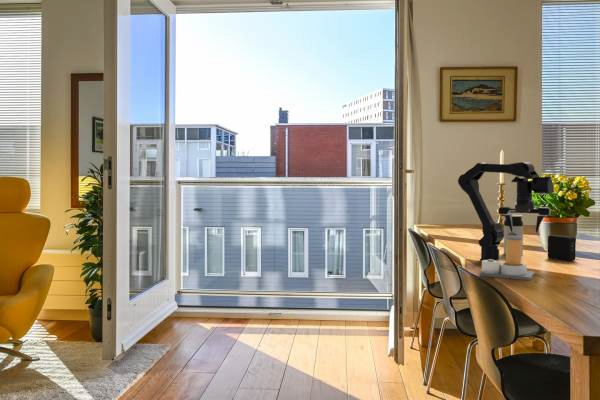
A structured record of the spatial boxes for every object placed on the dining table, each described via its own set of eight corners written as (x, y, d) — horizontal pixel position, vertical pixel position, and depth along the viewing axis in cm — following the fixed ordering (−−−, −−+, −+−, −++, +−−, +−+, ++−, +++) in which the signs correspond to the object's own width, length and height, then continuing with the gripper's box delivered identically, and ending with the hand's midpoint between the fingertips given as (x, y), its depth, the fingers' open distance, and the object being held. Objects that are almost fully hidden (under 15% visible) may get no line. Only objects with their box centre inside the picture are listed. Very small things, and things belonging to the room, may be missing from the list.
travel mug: (508, 252, 235) (508, 214, 234) (525, 254, 229) (525, 214, 228) (500, 254, 229) (501, 215, 228) (518, 256, 224) (518, 215, 223)
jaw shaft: (502, 271, 181) (503, 235, 180) (511, 270, 183) (513, 235, 182) (514, 274, 177) (515, 237, 176) (523, 273, 179) (525, 236, 178)
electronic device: (569, 261, 208) (569, 237, 208) (547, 258, 217) (547, 235, 217) (575, 260, 210) (575, 237, 210) (553, 257, 219) (554, 234, 218)
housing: (479, 275, 180) (479, 260, 179) (486, 270, 190) (487, 255, 190) (529, 280, 171) (530, 264, 171) (534, 274, 182) (534, 258, 181)
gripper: (495, 194, 200) (495, 233, 200) (548, 194, 190) (547, 235, 191) (501, 193, 209) (500, 230, 210) (550, 193, 199) (550, 232, 200)
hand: (524, 232), depth 202 cm, fingers open, 9 cm apart
